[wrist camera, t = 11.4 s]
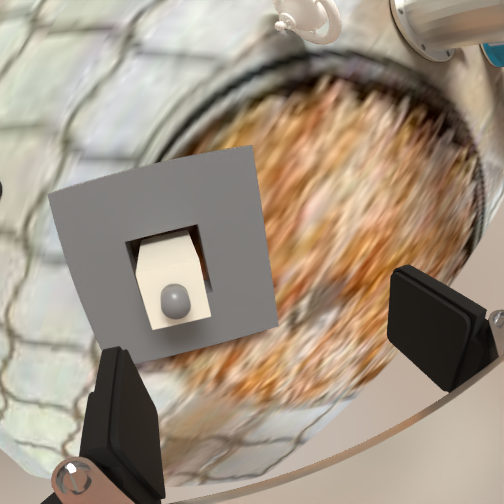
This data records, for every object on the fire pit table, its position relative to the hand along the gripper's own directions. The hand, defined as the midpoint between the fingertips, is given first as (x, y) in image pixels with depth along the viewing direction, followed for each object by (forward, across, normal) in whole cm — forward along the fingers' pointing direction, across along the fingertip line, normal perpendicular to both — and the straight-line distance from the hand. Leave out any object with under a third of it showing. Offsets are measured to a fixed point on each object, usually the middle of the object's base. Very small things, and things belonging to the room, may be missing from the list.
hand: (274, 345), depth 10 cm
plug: (+21, +4, +4) cm, 22 cm away
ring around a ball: (+22, -11, -17) cm, 30 cm away
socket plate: (+21, +4, +4) cm, 22 cm away
